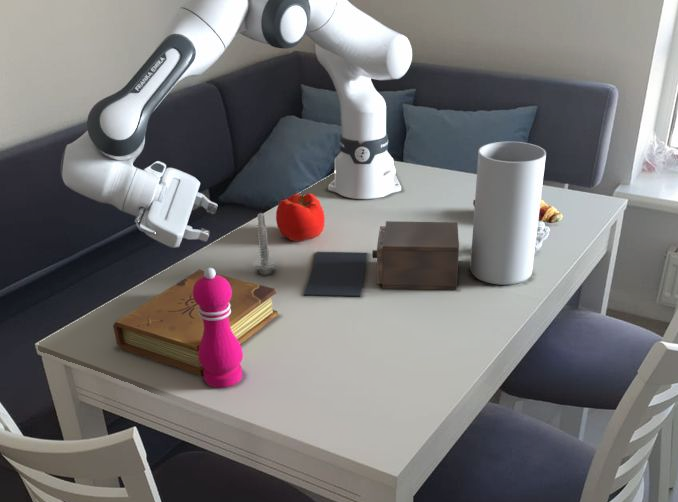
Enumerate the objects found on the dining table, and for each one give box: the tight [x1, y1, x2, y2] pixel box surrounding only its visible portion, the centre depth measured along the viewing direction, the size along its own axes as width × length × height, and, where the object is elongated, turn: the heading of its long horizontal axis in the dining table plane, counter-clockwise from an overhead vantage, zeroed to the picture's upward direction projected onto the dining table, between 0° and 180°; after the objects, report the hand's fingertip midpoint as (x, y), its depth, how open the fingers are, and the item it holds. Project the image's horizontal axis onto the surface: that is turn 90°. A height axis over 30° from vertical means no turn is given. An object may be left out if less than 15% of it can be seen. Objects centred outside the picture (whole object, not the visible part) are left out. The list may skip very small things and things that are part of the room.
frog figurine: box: [534, 221, 551, 253], centre depth 170 cm, size 6×7×7 cm
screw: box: [252, 212, 278, 276], centre depth 162 cm, size 13×5×5 cm
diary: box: [112, 269, 279, 376], centre depth 144 cm, size 23×19×6 cm
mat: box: [304, 251, 368, 298], centre depth 165 cm, size 20×11×1 cm, turn 175°
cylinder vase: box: [469, 141, 547, 286], centre depth 157 cm, size 12×12×25 cm
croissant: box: [472, 198, 564, 224], centre depth 186 cm, size 21×10×8 cm, turn 68°
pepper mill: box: [193, 267, 244, 389], centre depth 127 cm, size 7×7×20 cm
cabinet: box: [382, 220, 460, 291], centre depth 161 cm, size 15×13×9 cm
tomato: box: [275, 192, 326, 242], centre depth 179 cm, size 11×12×9 cm
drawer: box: [371, 225, 386, 284], centre depth 161 cm, size 15×11×7 cm
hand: (212, 223), depth 159 cm, fingers open, 8 cm apart
